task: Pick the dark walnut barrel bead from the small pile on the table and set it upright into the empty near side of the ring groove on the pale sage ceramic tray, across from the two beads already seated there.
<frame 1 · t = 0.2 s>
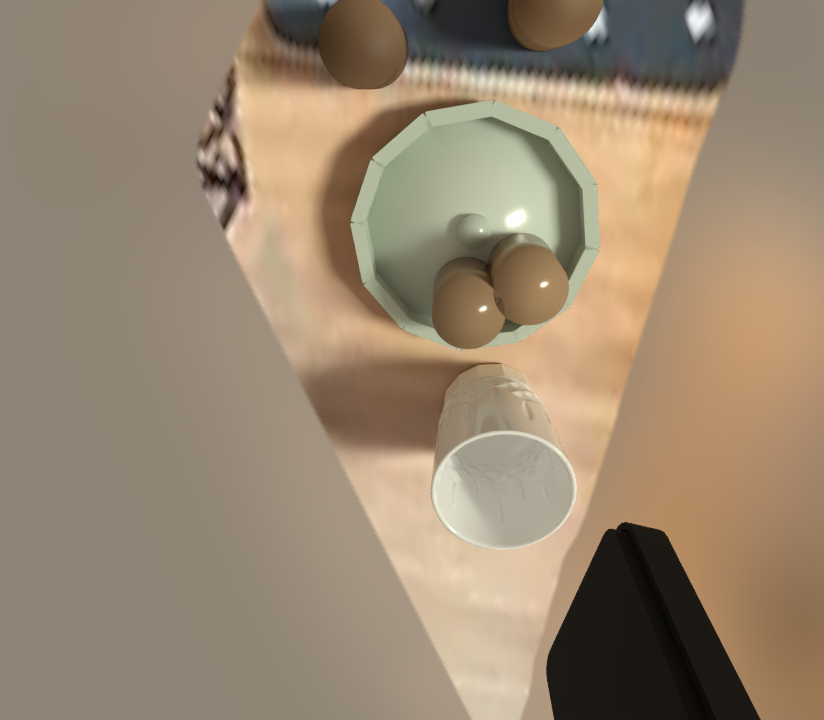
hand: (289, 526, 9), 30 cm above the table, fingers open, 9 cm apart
white cup: (490, 404, 42), on the table
bead a: (372, 49, 33), on the table
tray: (473, 227, 37), on the table
bead b: (543, 9, 32), on the table
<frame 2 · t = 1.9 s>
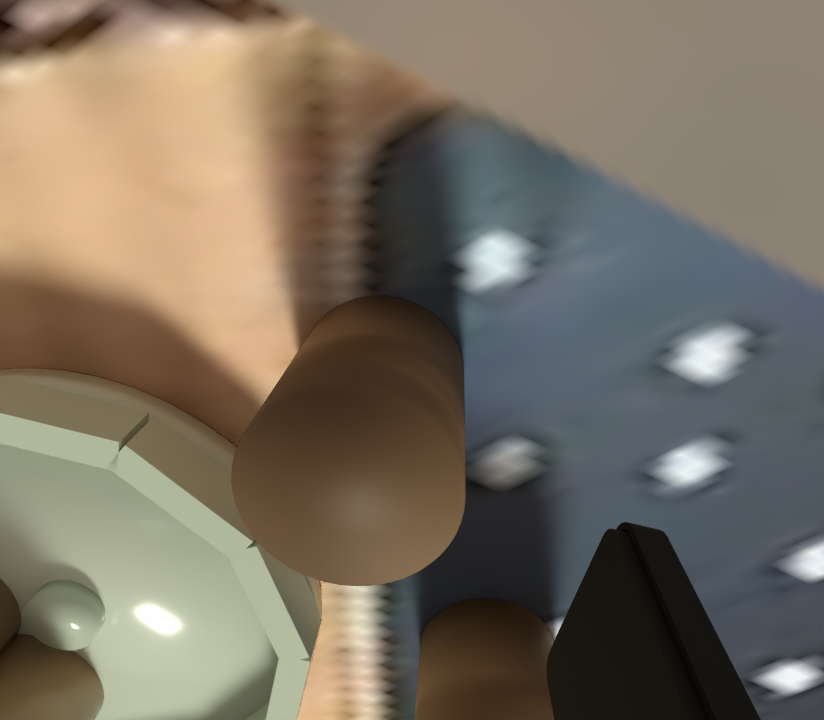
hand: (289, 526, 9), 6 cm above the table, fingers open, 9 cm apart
bead a: (382, 373, 15), on the table
tray: (91, 581, 18), on the table
bead b: (487, 649, 18), on the table
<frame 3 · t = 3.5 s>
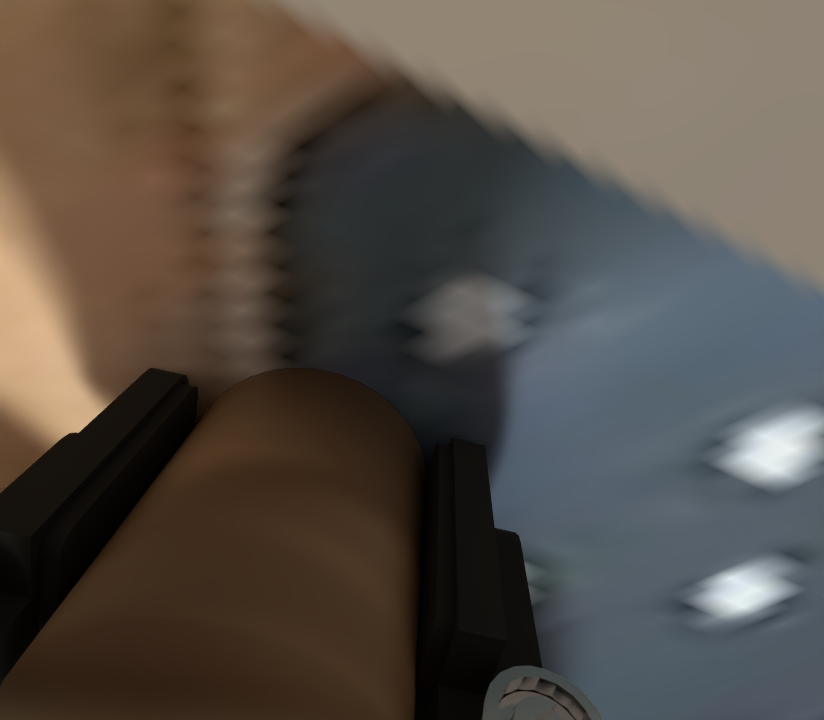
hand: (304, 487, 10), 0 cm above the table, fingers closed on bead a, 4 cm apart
bead a: (308, 474, 10), on the table, touching gripper
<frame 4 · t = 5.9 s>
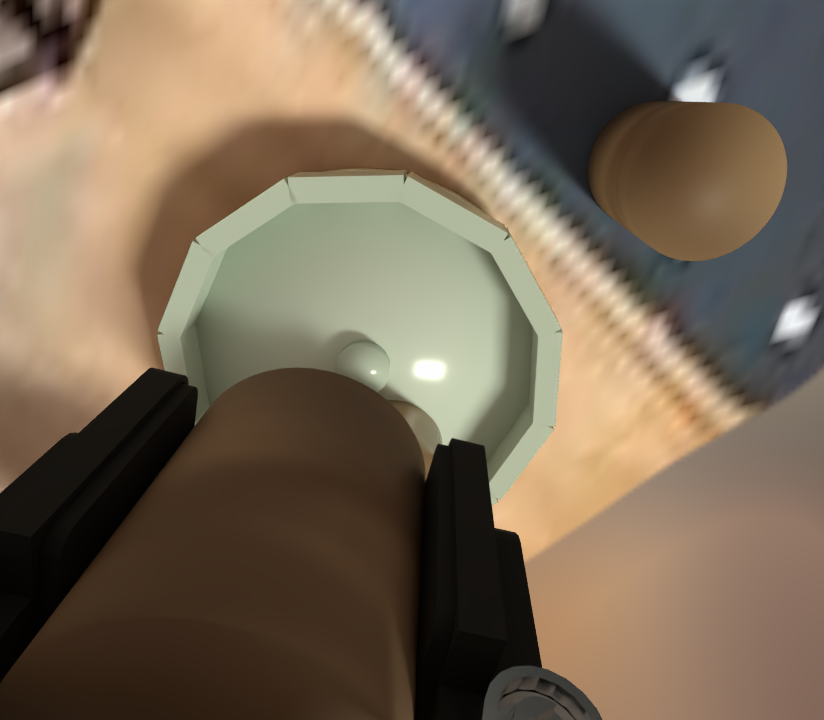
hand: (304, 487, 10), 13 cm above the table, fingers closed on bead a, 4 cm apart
bead a: (308, 474, 10), point 13 cm above the table, touching gripper
tray: (367, 354, 24), on the table
bead b: (648, 165, 20), on the table
when the fingers open (2 cm above the table, at t = 8.4 s): bead a drops 1 cm, resting on tray.
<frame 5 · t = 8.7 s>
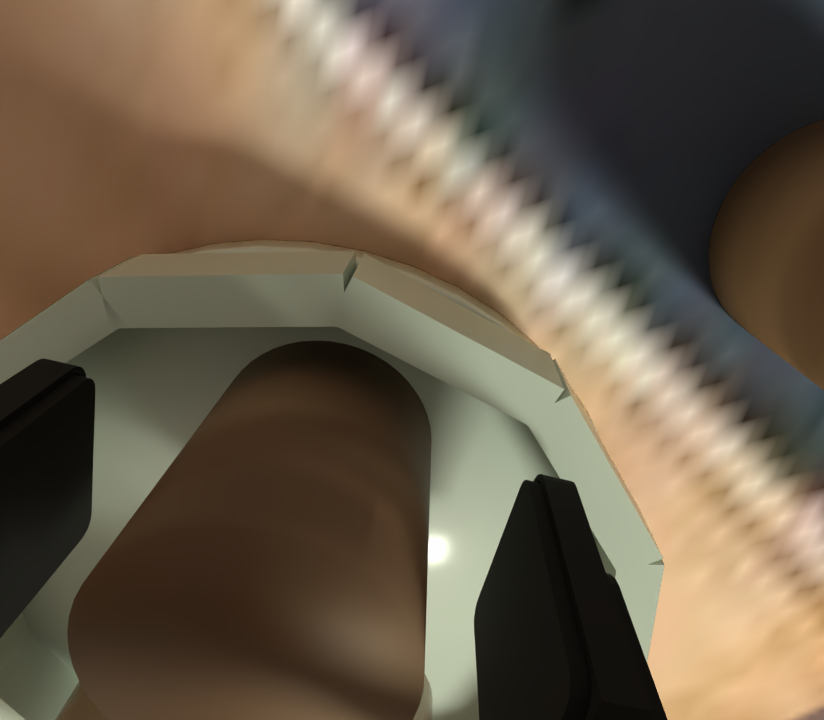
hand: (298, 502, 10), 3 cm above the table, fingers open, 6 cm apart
bead a: (325, 439, 11), point 1 cm above the table, touching tray
tray: (301, 548, 14), on the table
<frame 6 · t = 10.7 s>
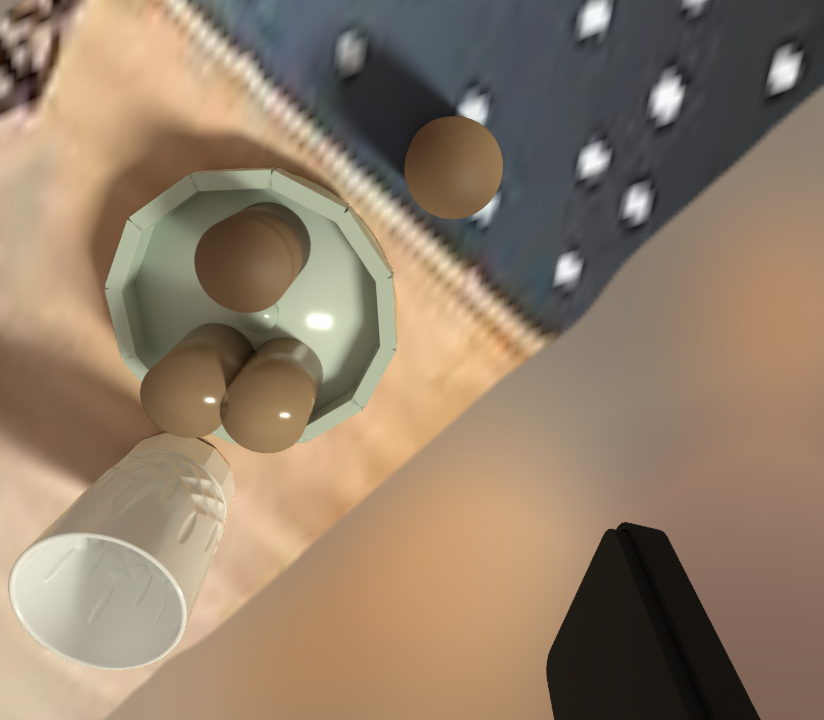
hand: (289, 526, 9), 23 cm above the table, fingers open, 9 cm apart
white cup: (181, 479, 36), on the table
bead a: (270, 243, 30), point 1 cm above the table, touching tray
tray: (264, 305, 32), on the table
bead b: (448, 160, 29), on the table
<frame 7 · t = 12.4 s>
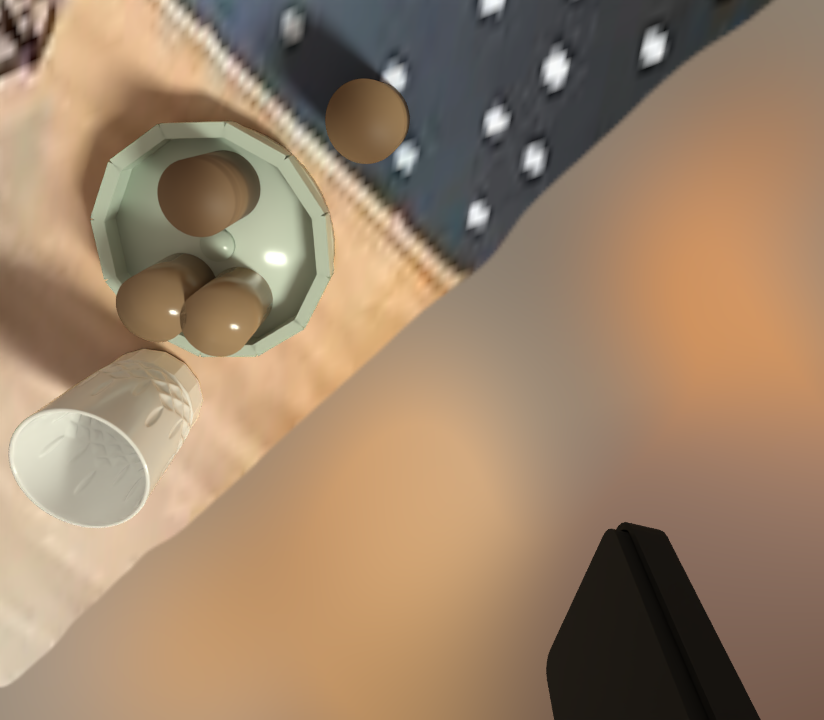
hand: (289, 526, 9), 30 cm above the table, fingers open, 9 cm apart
white cup: (158, 390, 43), on the table
bead a: (227, 185, 36), point 1 cm above the table, touching tray
tray: (224, 240, 38), on the table
bead b: (375, 119, 35), on the table
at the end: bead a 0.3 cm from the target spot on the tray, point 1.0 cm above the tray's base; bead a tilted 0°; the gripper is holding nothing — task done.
